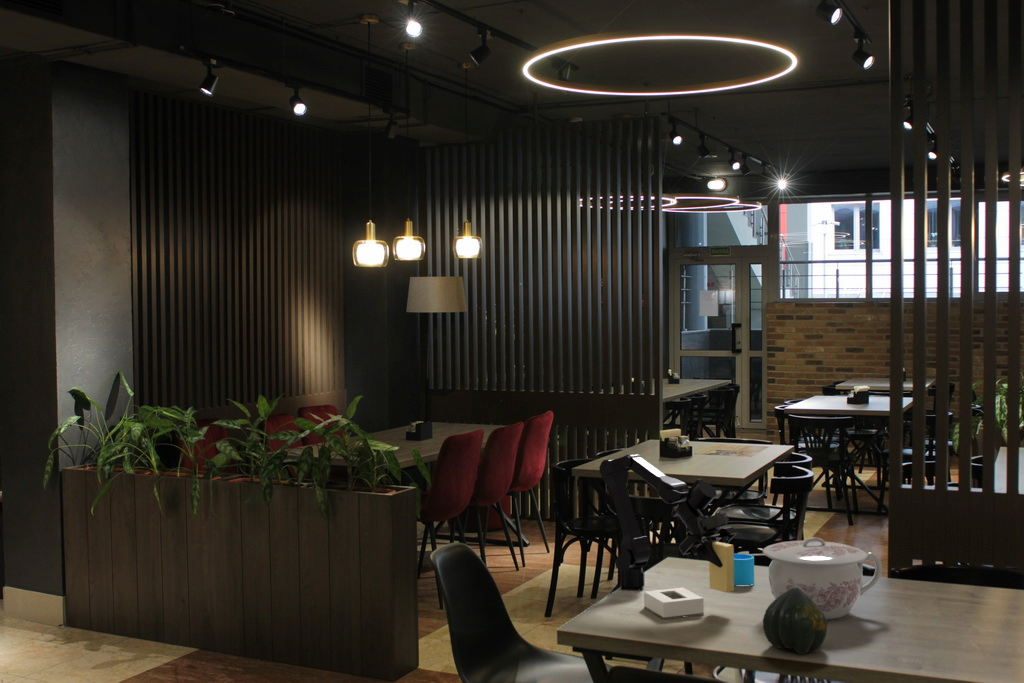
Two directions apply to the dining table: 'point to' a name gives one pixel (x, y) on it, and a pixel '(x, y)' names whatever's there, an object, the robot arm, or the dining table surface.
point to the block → (722, 568)
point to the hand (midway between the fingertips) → (725, 565)
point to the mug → (743, 569)
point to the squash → (795, 622)
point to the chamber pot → (821, 573)
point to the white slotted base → (673, 603)
